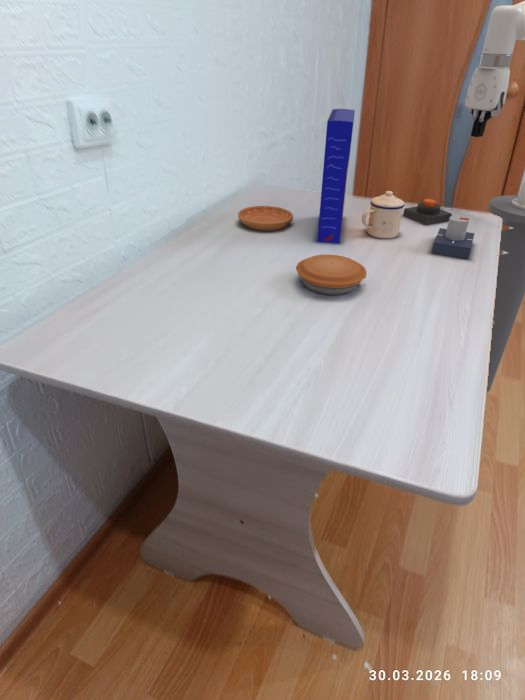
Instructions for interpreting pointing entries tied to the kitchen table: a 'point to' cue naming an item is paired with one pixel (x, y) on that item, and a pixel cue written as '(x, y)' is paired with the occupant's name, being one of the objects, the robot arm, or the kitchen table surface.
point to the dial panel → (452, 245)
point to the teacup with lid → (384, 216)
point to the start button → (429, 203)
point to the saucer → (265, 217)
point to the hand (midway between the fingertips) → (476, 136)
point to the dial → (457, 228)
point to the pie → (330, 274)
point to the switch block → (427, 214)
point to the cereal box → (335, 174)
